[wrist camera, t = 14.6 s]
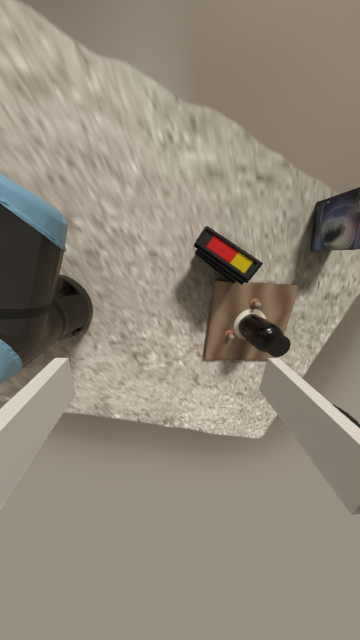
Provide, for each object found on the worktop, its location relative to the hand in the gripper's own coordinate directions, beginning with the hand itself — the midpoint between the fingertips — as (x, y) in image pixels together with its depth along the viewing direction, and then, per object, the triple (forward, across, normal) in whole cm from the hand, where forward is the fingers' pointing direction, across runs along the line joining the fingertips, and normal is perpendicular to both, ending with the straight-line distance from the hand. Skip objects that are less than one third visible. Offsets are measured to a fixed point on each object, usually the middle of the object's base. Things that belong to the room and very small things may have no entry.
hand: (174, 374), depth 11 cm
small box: (+32, +37, +17) cm, 52 cm away
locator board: (+32, +23, -8) cm, 40 cm away
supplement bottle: (+30, +23, -8) cm, 39 cm away
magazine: (+32, +11, +8) cm, 35 cm away
